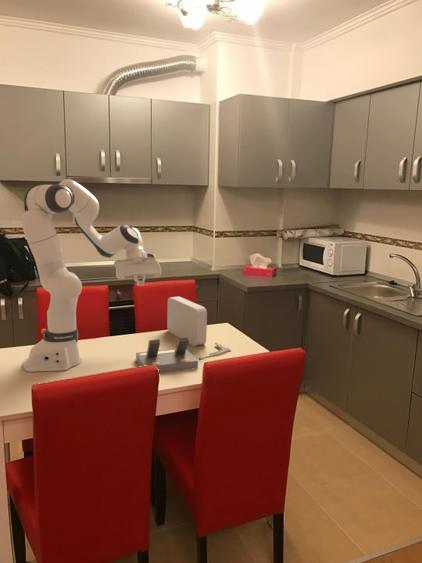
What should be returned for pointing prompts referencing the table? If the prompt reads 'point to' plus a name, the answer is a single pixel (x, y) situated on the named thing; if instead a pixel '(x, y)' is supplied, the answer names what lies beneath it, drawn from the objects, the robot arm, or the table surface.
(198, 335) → the light grey rounded box
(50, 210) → the robot arm
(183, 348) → the lever
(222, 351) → the jawbone
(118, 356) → the table surface
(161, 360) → the breaker panel
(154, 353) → the lever
